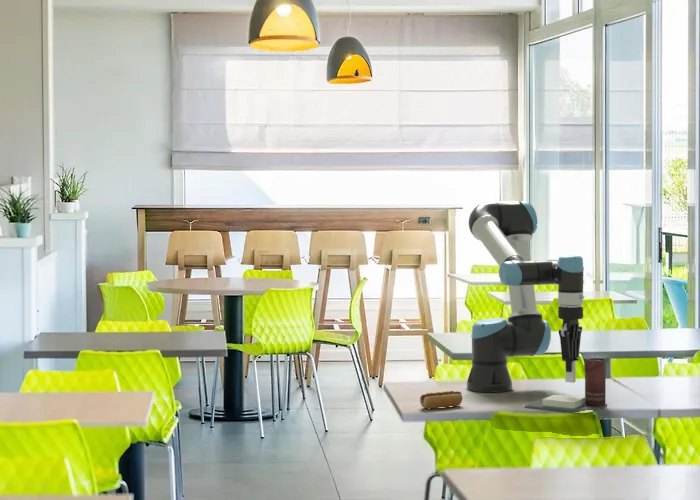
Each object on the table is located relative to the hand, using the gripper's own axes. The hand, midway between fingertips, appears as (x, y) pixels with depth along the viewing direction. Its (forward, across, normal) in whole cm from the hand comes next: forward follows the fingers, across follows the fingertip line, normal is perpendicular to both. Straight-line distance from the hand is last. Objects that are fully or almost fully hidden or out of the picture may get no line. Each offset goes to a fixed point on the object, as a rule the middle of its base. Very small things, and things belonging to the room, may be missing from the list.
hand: (570, 381), depth 330 cm
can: (+7, 0, -8) cm, 10 cm away
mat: (+7, -4, 0) cm, 8 cm away
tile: (+5, -1, 0) cm, 5 cm away
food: (+8, -25, +31) cm, 41 cm away
